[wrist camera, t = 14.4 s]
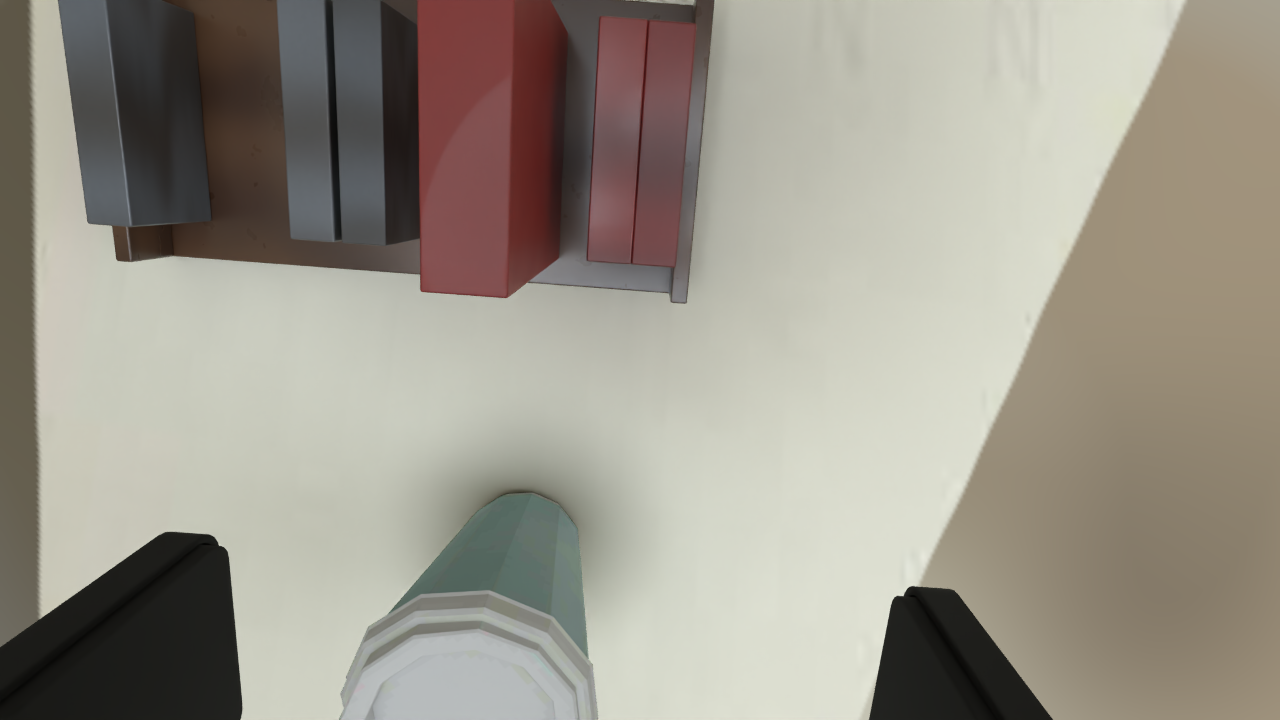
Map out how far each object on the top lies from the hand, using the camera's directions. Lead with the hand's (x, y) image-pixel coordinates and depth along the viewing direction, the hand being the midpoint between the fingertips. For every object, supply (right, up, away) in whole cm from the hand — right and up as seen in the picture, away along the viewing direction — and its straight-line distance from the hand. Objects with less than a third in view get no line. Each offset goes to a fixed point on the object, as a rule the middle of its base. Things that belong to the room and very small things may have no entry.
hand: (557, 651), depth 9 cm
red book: (-4, +15, +24) cm, 29 cm away
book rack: (-10, +16, +25) cm, 31 cm away
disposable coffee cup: (-6, -7, +31) cm, 33 cm away
